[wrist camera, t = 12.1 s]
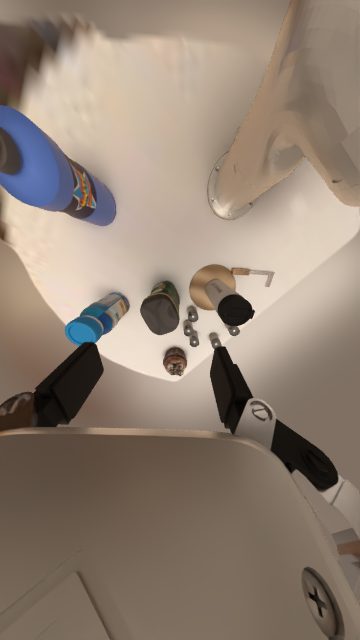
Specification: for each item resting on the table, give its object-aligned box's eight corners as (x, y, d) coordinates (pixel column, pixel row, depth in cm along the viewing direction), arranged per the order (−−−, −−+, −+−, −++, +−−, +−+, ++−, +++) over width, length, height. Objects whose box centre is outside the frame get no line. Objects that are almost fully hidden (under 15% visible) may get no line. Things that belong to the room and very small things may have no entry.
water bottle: (80, 220, 36) (-76, 173, 14) (77, 174, 32) (-151, 5, 10) (116, 230, 37) (21, 202, 15) (117, 187, 33) (-10, 60, 11)
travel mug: (223, 298, 46) (249, 328, 28) (203, 297, 46) (218, 327, 28) (227, 279, 43) (259, 299, 25) (206, 278, 43) (224, 297, 25)
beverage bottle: (114, 286, 44) (70, 310, 27) (135, 303, 47) (107, 335, 29) (101, 303, 47) (53, 335, 29) (121, 318, 50) (88, 356, 32)
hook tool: (228, 283, 44) (230, 285, 42) (231, 268, 42) (233, 268, 40) (267, 286, 44) (270, 287, 43) (273, 270, 42) (276, 271, 41)
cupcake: (161, 347, 56) (158, 366, 47) (184, 344, 55) (185, 362, 46) (167, 364, 60) (164, 384, 51) (188, 361, 59) (189, 380, 51)
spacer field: (185, 300, 47) (185, 306, 41) (238, 303, 47) (246, 310, 42) (182, 337, 54) (182, 347, 48) (228, 340, 54) (234, 350, 49)
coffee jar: (182, 303, 47) (184, 332, 31) (162, 311, 48) (153, 342, 32) (171, 276, 43) (166, 293, 26) (149, 286, 44) (131, 307, 28)
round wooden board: (191, 263, 41) (191, 263, 41) (240, 266, 41) (241, 266, 41) (187, 308, 48) (187, 309, 48) (229, 311, 48) (229, 311, 48)
